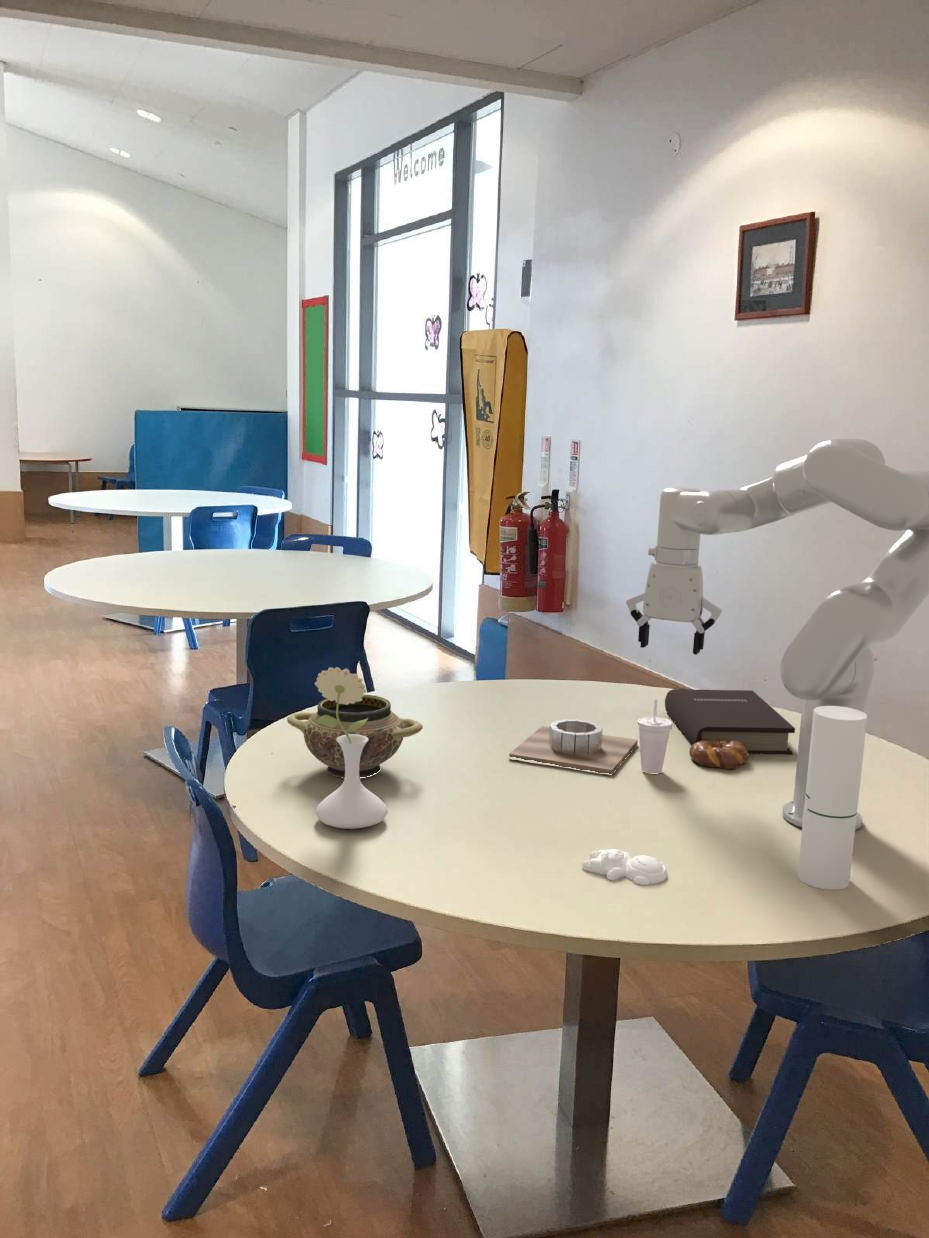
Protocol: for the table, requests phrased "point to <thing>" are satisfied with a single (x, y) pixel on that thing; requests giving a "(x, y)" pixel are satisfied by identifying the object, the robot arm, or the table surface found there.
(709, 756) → the pretzel
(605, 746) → the walnut board
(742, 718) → the book
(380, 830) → the table surface
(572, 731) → the steel sleeve
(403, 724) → the ceramic bowl
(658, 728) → the smoothie
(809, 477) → the robot arm
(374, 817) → the flower in vase
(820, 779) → the cylindrical container
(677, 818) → the table surface
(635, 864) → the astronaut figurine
